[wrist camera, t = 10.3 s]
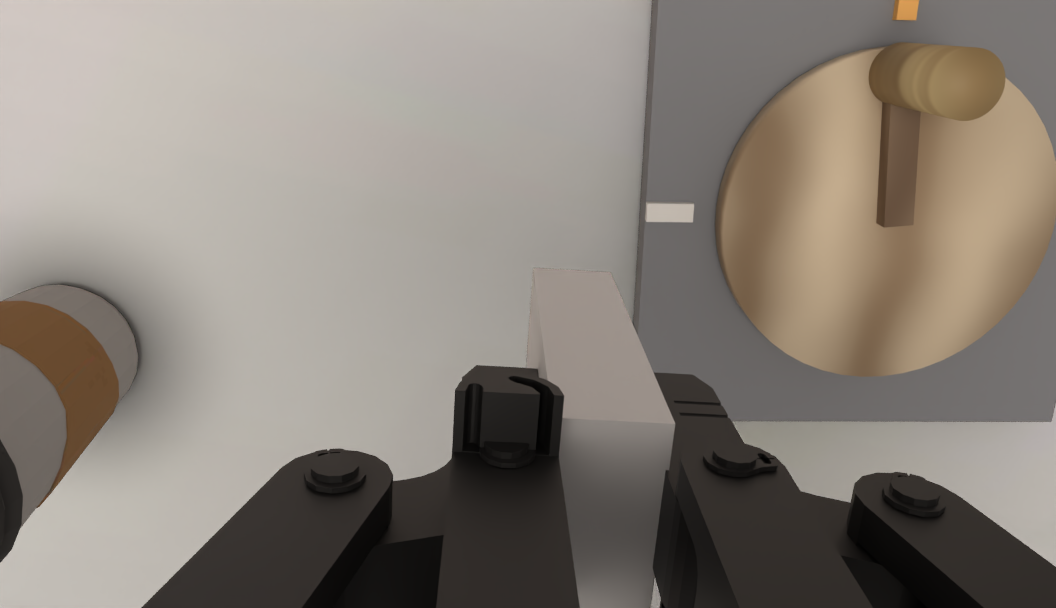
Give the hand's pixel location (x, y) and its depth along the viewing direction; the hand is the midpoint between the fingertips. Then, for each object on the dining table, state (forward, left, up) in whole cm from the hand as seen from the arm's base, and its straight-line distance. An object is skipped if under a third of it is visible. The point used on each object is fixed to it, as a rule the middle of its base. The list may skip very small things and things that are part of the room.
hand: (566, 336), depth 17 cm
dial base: (-2, -15, -22) cm, 27 cm away
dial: (-2, -15, -21) cm, 26 cm away
